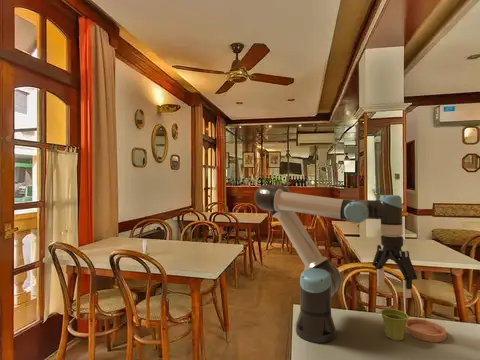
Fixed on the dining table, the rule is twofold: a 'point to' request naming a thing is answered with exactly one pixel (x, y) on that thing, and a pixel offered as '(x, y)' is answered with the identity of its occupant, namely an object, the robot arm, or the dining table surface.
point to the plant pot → (394, 323)
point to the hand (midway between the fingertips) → (393, 291)
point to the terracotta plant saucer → (425, 330)
